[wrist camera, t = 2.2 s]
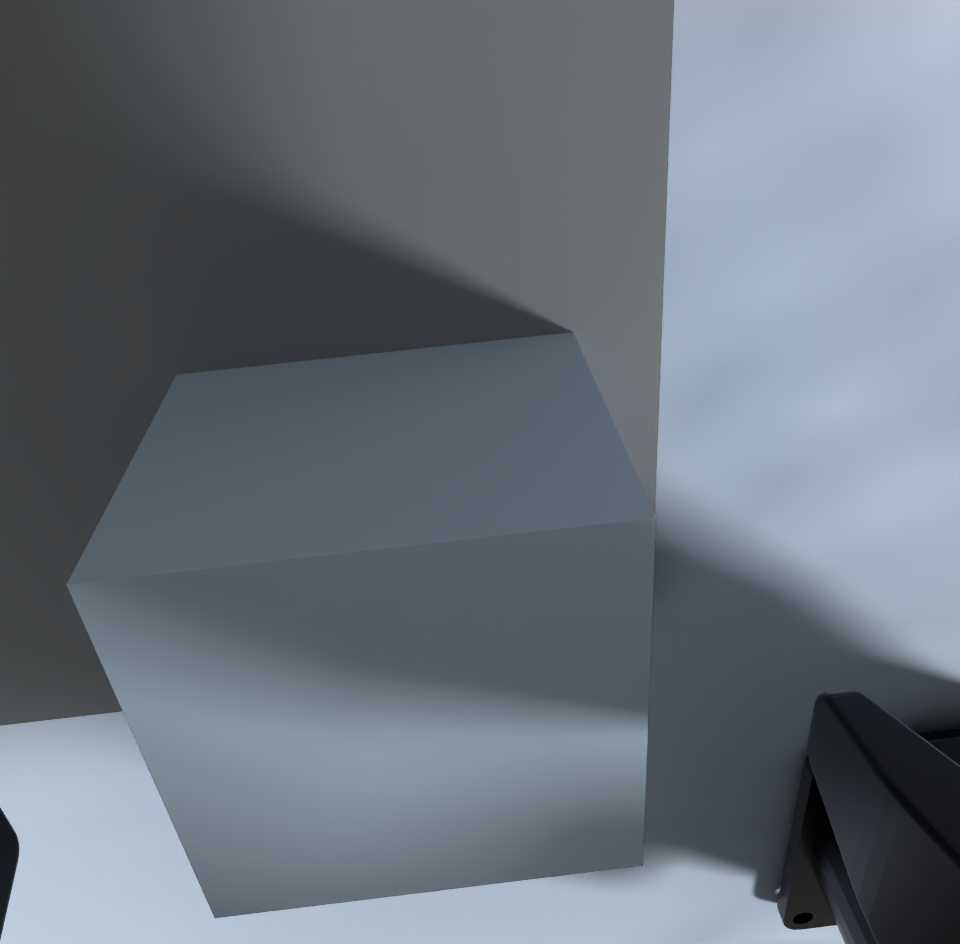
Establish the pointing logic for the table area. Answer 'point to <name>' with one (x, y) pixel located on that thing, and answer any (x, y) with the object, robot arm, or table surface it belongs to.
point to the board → (298, 231)
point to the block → (383, 622)
